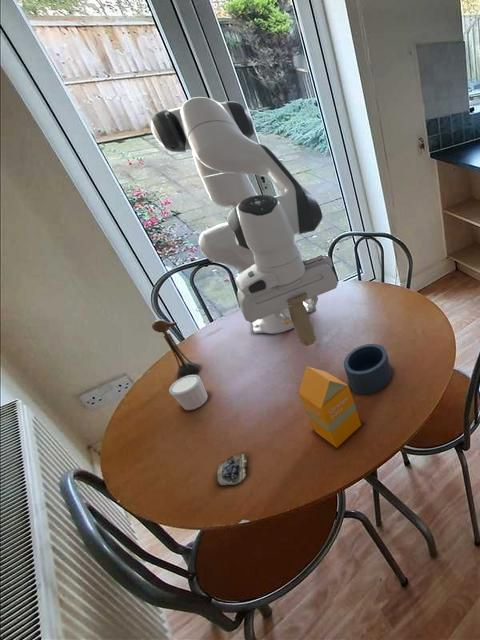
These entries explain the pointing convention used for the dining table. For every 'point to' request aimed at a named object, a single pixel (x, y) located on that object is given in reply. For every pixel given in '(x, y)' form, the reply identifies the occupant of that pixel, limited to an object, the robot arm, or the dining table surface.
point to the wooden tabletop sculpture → (185, 367)
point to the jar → (367, 368)
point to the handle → (301, 320)
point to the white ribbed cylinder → (189, 392)
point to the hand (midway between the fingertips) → (299, 317)
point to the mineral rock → (232, 470)
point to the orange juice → (329, 406)
